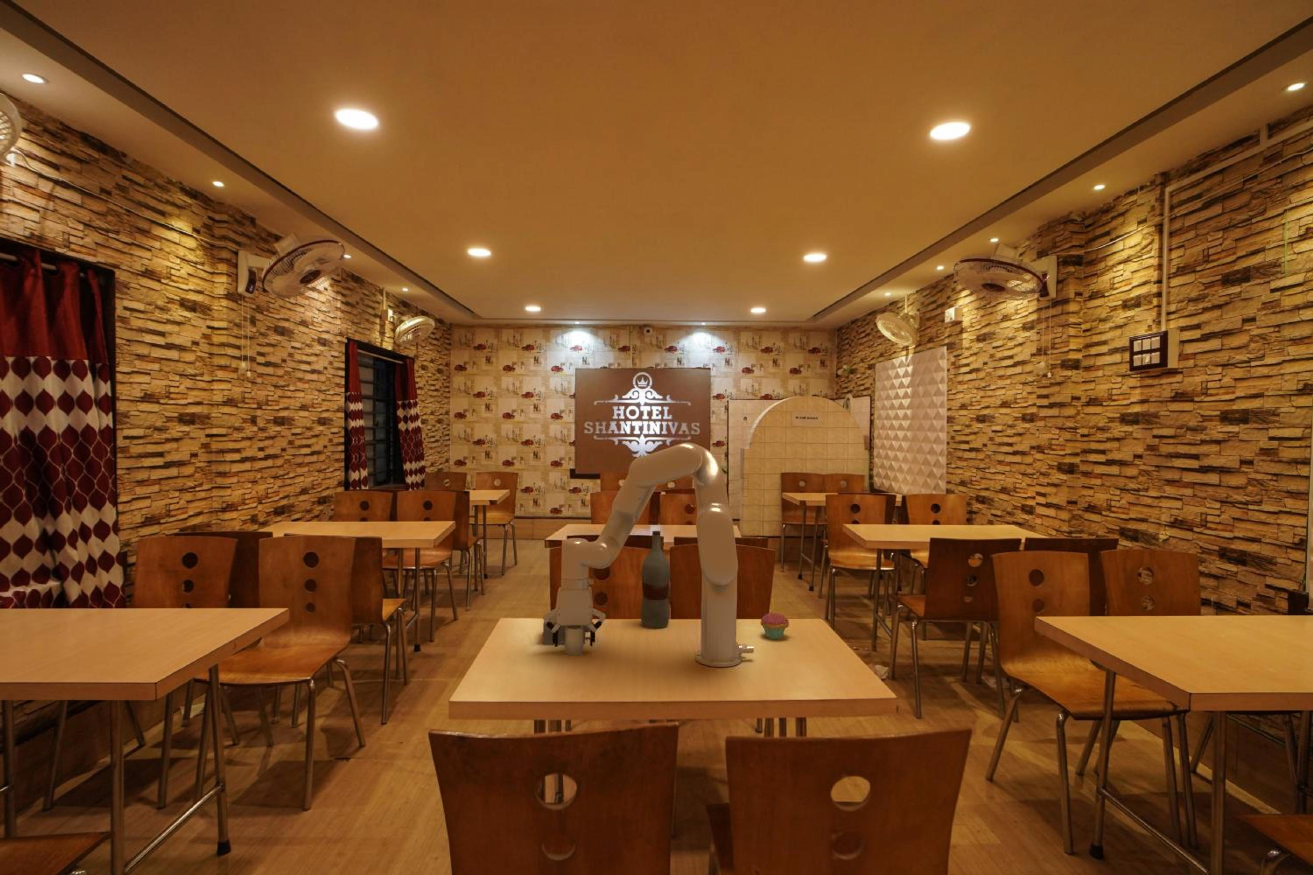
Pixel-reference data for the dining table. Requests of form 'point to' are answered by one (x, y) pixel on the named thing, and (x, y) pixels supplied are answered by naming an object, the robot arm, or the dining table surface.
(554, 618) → the box with side knob
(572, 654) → the toy camera lens
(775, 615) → the cupcake
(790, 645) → the dining table surface
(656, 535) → the bottle
